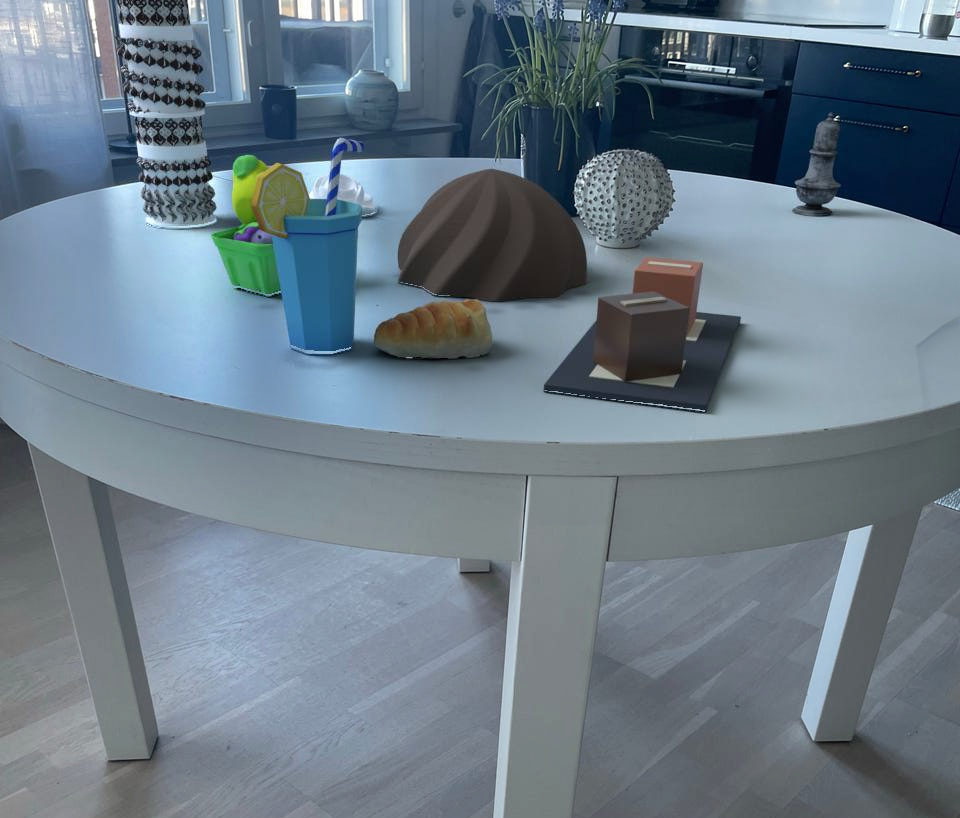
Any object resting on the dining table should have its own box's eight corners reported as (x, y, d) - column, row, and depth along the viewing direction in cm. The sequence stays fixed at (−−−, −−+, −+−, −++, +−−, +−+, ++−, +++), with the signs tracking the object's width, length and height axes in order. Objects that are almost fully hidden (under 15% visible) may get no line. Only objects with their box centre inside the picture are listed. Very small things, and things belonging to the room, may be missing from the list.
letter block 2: (681, 374, 77) (690, 305, 74) (625, 382, 76) (632, 312, 73) (647, 354, 81) (654, 289, 78) (592, 361, 79) (598, 294, 77)
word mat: (705, 413, 72) (706, 403, 72) (543, 392, 75) (543, 383, 75) (740, 323, 92) (741, 315, 91) (609, 309, 95) (610, 301, 94)
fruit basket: (267, 303, 94) (255, 170, 88) (204, 286, 98) (188, 158, 92) (352, 279, 102) (346, 156, 95) (290, 265, 106) (281, 146, 100)
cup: (328, 315, 91) (317, 129, 83) (406, 326, 89) (403, 136, 80) (241, 360, 80) (218, 151, 72) (327, 374, 78) (313, 160, 70)
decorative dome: (373, 259, 109) (369, 157, 103) (544, 249, 115) (549, 152, 109) (424, 307, 94) (423, 190, 88) (618, 292, 99) (629, 182, 94)
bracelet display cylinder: (126, 225, 120) (85, -27, 107) (169, 211, 128) (137, -26, 114) (193, 232, 118) (161, -24, 104) (234, 217, 125) (208, -24, 112)
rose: (331, 165, 133) (392, 173, 129) (333, 201, 135) (393, 210, 131) (282, 175, 126) (345, 184, 122) (285, 213, 128) (347, 223, 124)
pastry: (387, 368, 79) (385, 318, 77) (364, 343, 84) (362, 296, 82) (498, 356, 82) (500, 308, 80) (469, 333, 87) (470, 288, 85)
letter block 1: (695, 321, 89) (703, 260, 86) (686, 337, 85) (695, 274, 83) (639, 315, 91) (645, 255, 88) (628, 330, 87) (634, 268, 84)
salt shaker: (822, 218, 133) (842, 115, 126) (781, 211, 136) (799, 111, 129) (842, 212, 136) (863, 112, 130) (803, 206, 139) (820, 108, 133)
